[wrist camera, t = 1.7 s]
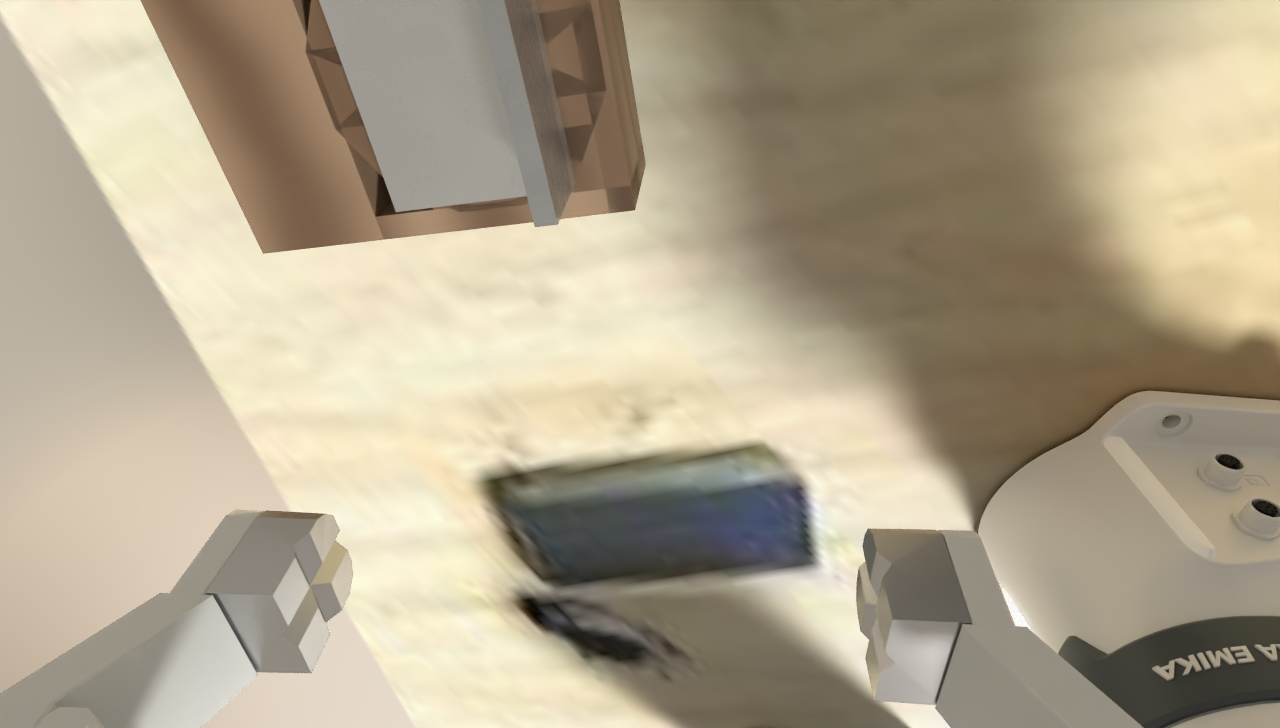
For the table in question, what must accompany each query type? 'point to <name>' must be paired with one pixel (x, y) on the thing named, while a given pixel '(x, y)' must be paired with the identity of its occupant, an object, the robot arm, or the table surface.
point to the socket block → (335, 133)
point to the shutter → (456, 101)
